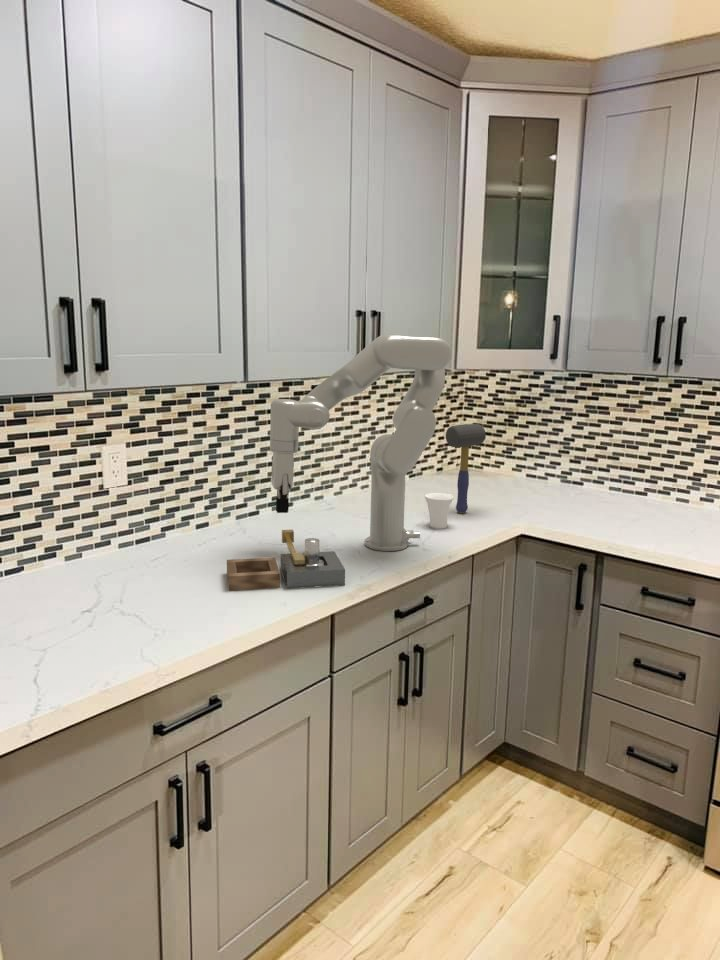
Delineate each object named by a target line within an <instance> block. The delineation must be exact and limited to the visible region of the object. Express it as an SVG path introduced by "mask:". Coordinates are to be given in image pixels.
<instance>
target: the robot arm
mask: <svg viewBox="0 0 720 960" xmlns="http://www.w3.org/2000/svg"><path fill="white" fill-rule="evenodd" d="M452 353H453V350H452V348H451V345H450V344H449V342H447V341H446V340H444V339H443V338H440V337H432V336H422V337H421V336H405V335H399V334H388V333H386V334H385V333H384V334H381V335H379V336H378V337H376V338H375V339H374V340H372V341H371V342H370V343H369V344H367V345H366V346H365V347H364V348H363V349H362V350H361V351H359V352H358V353H357V355H355V356H354V357H353V358H351V359H350V360H349V361H348V362H347V363H346V364H345V365H343V366H342V367H341V368H339V369H338V370H336V371H335V372H334V373H332V374H331V375H330V376H328V377H327V378H326V379H324V380H323V381H322V382H321V383H319V384H318V385H316V386H315V387H314V388H313V389H312V390H310V392H308V394H305V396H303V398H302V399H301V400H300V401H298V400H295V399H290V398H277V399H274V400H272V402H271V404H270V422H269V423H270V425H269V427H270V432H269V451H270V453H272V461H271V462H272V463H271V479H270V483H271V485H272V487H273V488H274V489H273V490H276V498H275V511H276V513H277V514H287V513H289V505H290V503H289V500H290V498H289V495H290V494H289V493H290V492H289V491H290V490H292V489H293V484H294V460H295V459H294V458H295V457H294V456H295V454H297V453H298V452H299V428H305V429H310V430H311V429H312V430H318V429H322V428H323V427H325V426H326V425H328V423H329V420H330V410H332V409H333V408H334V407H335V406H336V405H338V404H339V403H340V402H342V401H344V400H346V399H347V398H350V397H353V396H357V395H359V394H361V393H363V392H364V391H366V389H368V388H369V387H370V386H371V385H373V383H375V382H376V381H377V380H378V379H380V377H382V376H383V375H384V374H385V373H386V372H388V370H389V369H397V370H399V369H400V370H411V371H414V377H413V380H412V381H411V384H410V386H409V388H408V390H407V392H406V393H405V395H404V397H403V398H402V399H401V402H400V403H399V404H398V407H397V408H396V409H395V411H394V413H393V416H392V424H393V426H394V428H395V431H394V433H393V434H389V433H388V434H382V435H380V436H378V437H376V439H375V440H374V441H373V442H372V445H371V447H370V452H369V453H370V454H369V458H370V459H369V460H370V470H371V471H370V473H371V474H370V475H371V477H370V478H371V482H370V483H371V484H370V485H371V489H370V518H369V519H370V524H369V525H370V527H369V536H367V537H366V538H365V539H364V546H365V547H367V548H369V549H371V550H375V551H381V552H396V551H397V552H398V551H402V550H405V549H406V548H408V547H409V544H410V543H409V541H410V539H420V538H421V533H420V531H414V530H412V529H411V530H406V529H405V528H404V527H405V505H406V504H405V501H406V499H405V498H406V474H407V473H409V472H411V470H412V469H413V468H414V466H415V465H416V464H417V462H418V461H419V459H420V457H421V456H422V454H423V453H424V451H425V450H426V447H427V446H428V444H429V443H430V442H431V441H430V440H431V439H432V438H433V436H434V434H435V431H436V426H437V419H436V418H437V417H436V415H435V413H434V412H433V410H434V408H435V407H436V404H437V402H438V401H439V399H440V396H441V395H442V393H443V390H444V387H445V382H446V372H445V368H446V367H447V366H448V365H449V364H450V362H451V360H452V357H453V356H452V355H453V354H452Z"/></svg>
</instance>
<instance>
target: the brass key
mask: <svg viewBox="0 0 720 960" xmlns="http://www.w3.org/2000/svg"><path fill="white" fill-rule="evenodd" d="M294 540H295V532H294V529H281V542H282V543H283V544H286V546H287V549H288V552H289V553H290V554H291V557H292V559H293V562H294V564H295V565H298V564H305V558H304V556H303V554H302V553H303V552H297V549H296V548H295V545H294V543H295V541H294Z"/></svg>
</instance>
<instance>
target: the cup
mask: <svg viewBox="0 0 720 960" xmlns="http://www.w3.org/2000/svg"><path fill="white" fill-rule="evenodd" d="M424 498H425V501H426V505H427V509H428V514H429V524H428V525H429V527H430V528H431V529H437V530H439V529H440V530H441V529H446V528H447V527H448V516H449V510H450V507H451V504H452V502H453V501H454V494H449V493H443V492H429V493H426V494H425V495H424Z"/></svg>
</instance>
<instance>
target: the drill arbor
mask: <svg viewBox="0 0 720 960" xmlns="http://www.w3.org/2000/svg"><path fill="white" fill-rule="evenodd" d="M319 552H320V539H319V538H316V537H310V538H305V539H304V553H305V564H300V567H306V566H324V561H323V560H320V559H319Z"/></svg>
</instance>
